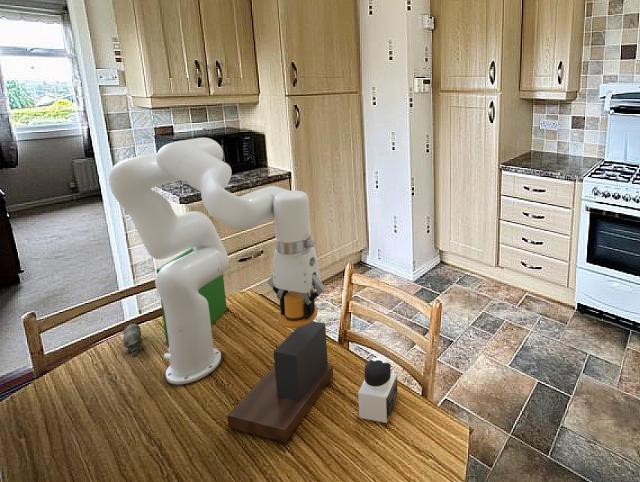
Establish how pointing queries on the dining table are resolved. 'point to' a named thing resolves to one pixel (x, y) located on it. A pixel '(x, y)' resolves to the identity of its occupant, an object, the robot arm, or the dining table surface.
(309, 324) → the dark grey block
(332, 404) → the dining table surface
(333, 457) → the dining table surface
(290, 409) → the brown flat slab
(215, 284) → the hardback book
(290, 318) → the hat
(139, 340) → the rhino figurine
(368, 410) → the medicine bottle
